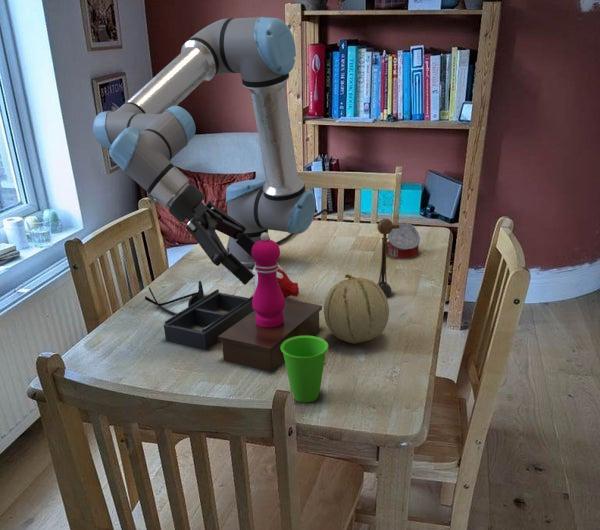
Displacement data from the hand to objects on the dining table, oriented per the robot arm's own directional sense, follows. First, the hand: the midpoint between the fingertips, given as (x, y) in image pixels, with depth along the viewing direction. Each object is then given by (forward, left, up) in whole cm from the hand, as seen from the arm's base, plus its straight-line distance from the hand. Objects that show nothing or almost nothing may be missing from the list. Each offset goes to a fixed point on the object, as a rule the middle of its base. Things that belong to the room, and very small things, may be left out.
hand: (256, 268), depth 135 cm
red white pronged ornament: (-25, -11, -18) cm, 33 cm away
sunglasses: (-9, -32, -18) cm, 38 cm away
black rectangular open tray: (-4, -16, -18) cm, 24 cm away
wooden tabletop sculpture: (-40, +14, -18) cm, 46 cm away
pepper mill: (-1, +2, -12) cm, 13 cm away
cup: (+15, +19, -18) cm, 31 cm away
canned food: (-73, +7, -18) cm, 75 cm away
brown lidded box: (-2, +2, -18) cm, 18 cm away
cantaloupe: (-12, +18, -18) cm, 28 cm away
